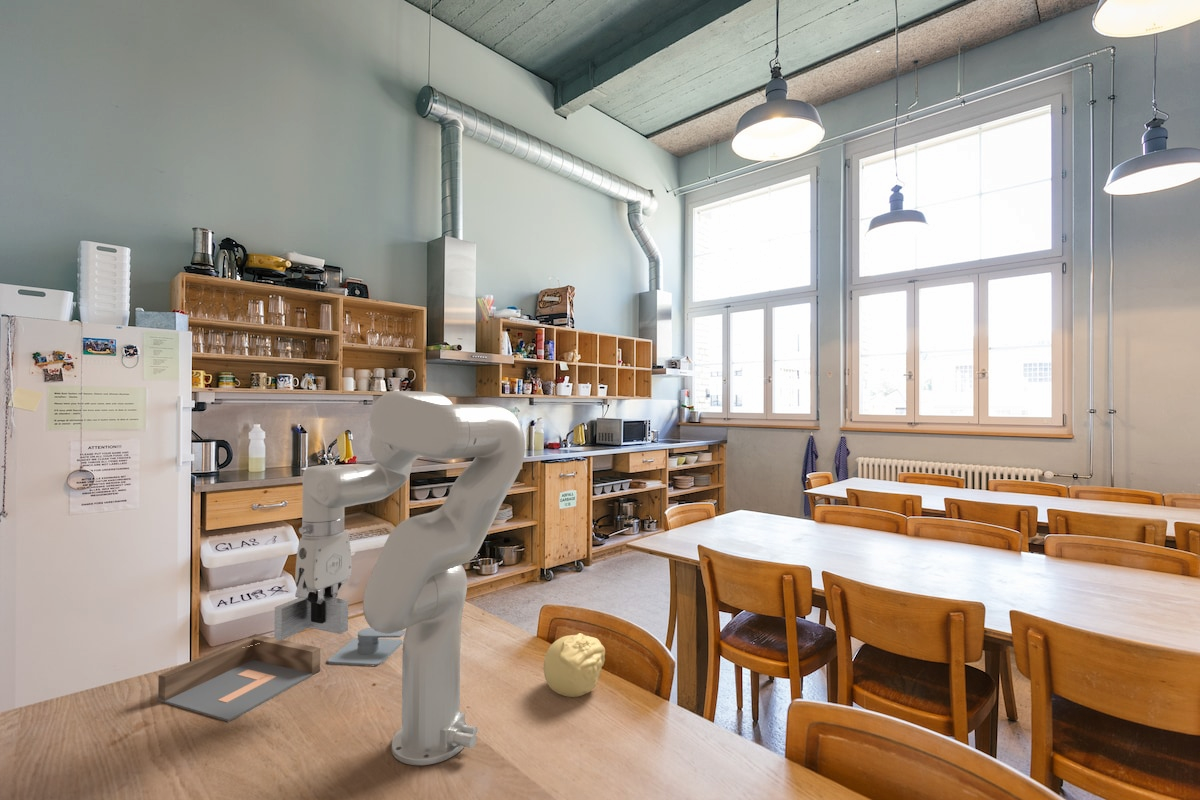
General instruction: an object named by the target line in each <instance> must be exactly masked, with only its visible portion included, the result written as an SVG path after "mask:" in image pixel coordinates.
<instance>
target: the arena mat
mask: <svg viewBox="0 0 1200 800" xmlns="http://www.w3.org/2000/svg"><path fill="white" fill-rule="evenodd" d="M316 672H317V673H319V672H320V671H319V670H318V671H316ZM316 672H314V673H308V672H304V671H299V670H295V669H291V668H287V667H282V666H278V665H274V664H270V663H265V662H261V661H257V660H251V661H249V662H247V663H245V664H243V665H241V666H238V667H236V668H234V669H232V670H230V671H228V672H226V673H223V674H221V675H219V676H217V677H215V678H213V679H211V680H209V681H206V682H204V683H202V684H200V685H198V686H196V687H194V688H191V689H189V690H187V691H185V692H183V693H181V694H179V695H177V696H174V697H172V698H170V699H168V700H166V701H164V700H160V699H158V697H156V701H157V702H161V703H163V704H167V705H172V706H174V707H176V708H177V707H178V708H181V709H184V710H186V711H187V710H188V711H191V712H195V713H197V714H201V715H204V716H208V717H212V718H214V719H215V718H216V719H218V720H220V721H221V720H222V721H225V722H228V723H229V722H231V721H233V720H235V719H236V718H238V717H241V716H242V715H244V714H246V713H247V712H250V711H251V710H253V709H255V708H257V707H258V706H260V705H262V704H264V703H266V702H267V701H269V700H271V699H273V698H274V697H276V696H278V695H280V694H282V693H283V692H286V691H287V690H289V689H291V688H293V687H294V686H296V685H298V684H299V683H301V682H304V681H305V680H306V679H308V678H310V677H312V676H314V675H315V674H317V673H316Z"/></svg>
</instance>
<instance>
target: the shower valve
mask: <svg viewBox="0 0 1200 800" xmlns="http://www.w3.org/2000/svg"><path fill="white" fill-rule="evenodd" d="M405 631H406V630H401V631H398V632H395V633H389V634H384V633H380V632H377V631H375V630H374V629H372V628H371V627H366V628H363V629H360V630H359V631H358V632H357V637H355V638H353V639H352V640H350V641H349V642H347V643H346V644H345V645H344V646H343V647H341V649H339V650H337V651H336V653H334V654H333V655H332V656H330V657H329V658H328V659H327V664H328V665H340V664H342V665H343V666H359V665H374V666H373V667H377V666H376V665H379V666H381V665H382V664H383V663H384V662H385V661H386V660H387V659H388V658H389V657H390V656H391V655H392V654H393V653H394V652H396V651H397V649H398V648H400V647H401V645H403V640H402V639H398V638H401V637H402V636H403V635H405ZM393 638H394V639H393ZM395 638H397V639H395ZM388 656H389V657H388ZM383 661H384V662H383ZM382 662H383V663H382ZM381 663H382V664H381ZM380 664H381V665H380ZM342 665H341V666H342Z"/></svg>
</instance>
